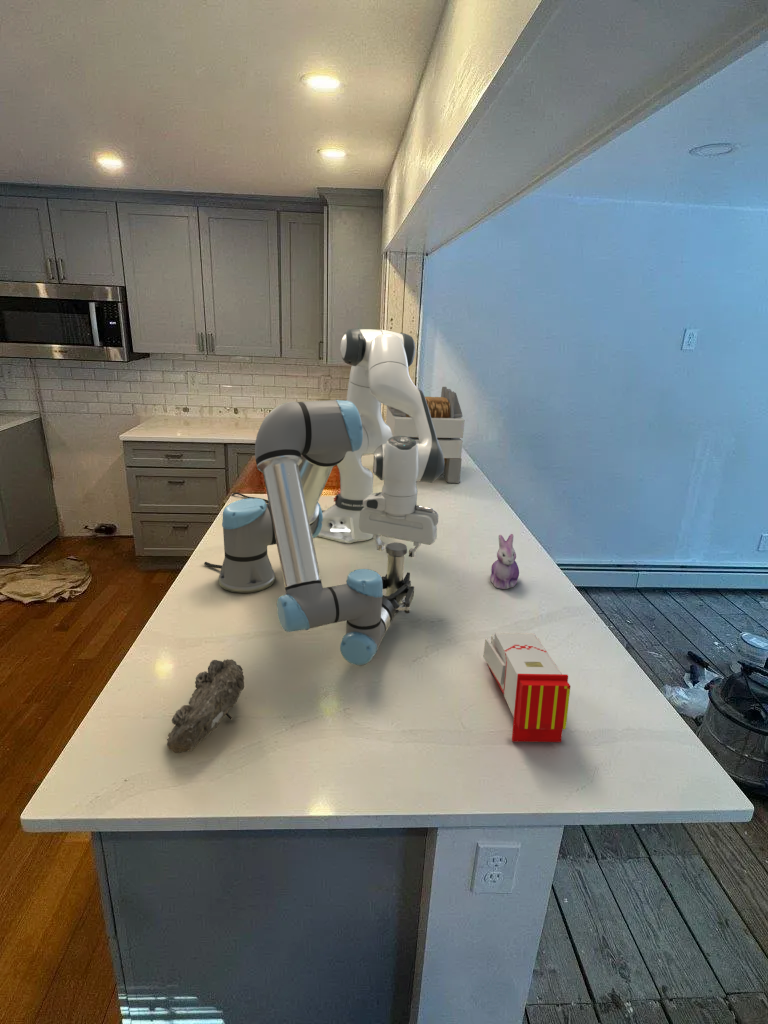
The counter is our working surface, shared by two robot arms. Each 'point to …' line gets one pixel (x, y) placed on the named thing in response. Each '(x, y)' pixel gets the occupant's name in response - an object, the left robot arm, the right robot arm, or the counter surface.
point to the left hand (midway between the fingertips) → (399, 575)
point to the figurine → (505, 565)
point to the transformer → (436, 429)
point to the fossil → (206, 705)
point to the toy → (529, 686)
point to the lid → (396, 549)
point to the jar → (394, 574)
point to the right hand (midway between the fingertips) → (396, 553)
